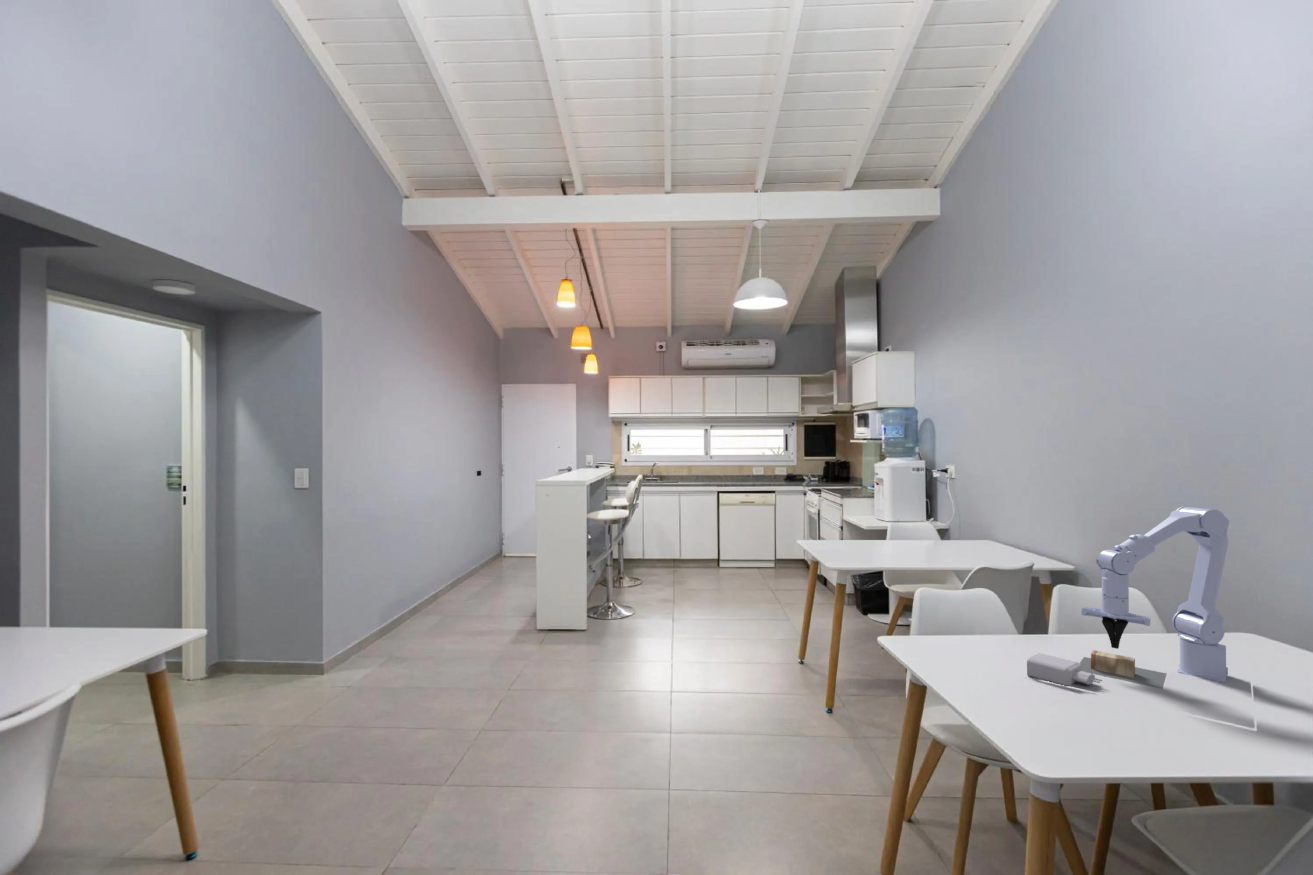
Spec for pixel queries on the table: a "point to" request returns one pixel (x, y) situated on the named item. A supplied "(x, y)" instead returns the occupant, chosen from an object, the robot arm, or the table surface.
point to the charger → (1058, 670)
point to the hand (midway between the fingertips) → (1115, 647)
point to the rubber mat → (1140, 677)
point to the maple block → (1113, 663)
